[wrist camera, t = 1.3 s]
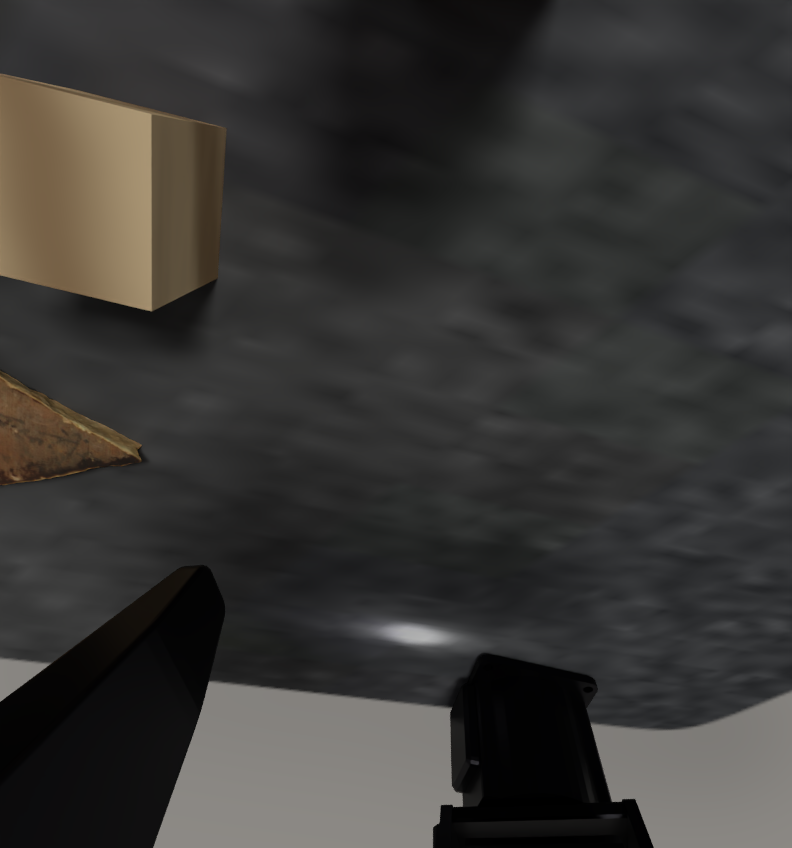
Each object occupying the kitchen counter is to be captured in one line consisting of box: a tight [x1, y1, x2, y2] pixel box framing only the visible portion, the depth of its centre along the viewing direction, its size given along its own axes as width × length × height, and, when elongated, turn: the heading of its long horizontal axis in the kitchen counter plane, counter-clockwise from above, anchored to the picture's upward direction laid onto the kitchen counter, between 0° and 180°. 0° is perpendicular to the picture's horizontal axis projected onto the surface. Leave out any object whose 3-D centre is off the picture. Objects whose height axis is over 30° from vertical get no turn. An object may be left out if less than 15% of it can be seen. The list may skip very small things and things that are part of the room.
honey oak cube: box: [0, 74, 226, 311], centre depth 16 cm, size 5×5×5 cm
